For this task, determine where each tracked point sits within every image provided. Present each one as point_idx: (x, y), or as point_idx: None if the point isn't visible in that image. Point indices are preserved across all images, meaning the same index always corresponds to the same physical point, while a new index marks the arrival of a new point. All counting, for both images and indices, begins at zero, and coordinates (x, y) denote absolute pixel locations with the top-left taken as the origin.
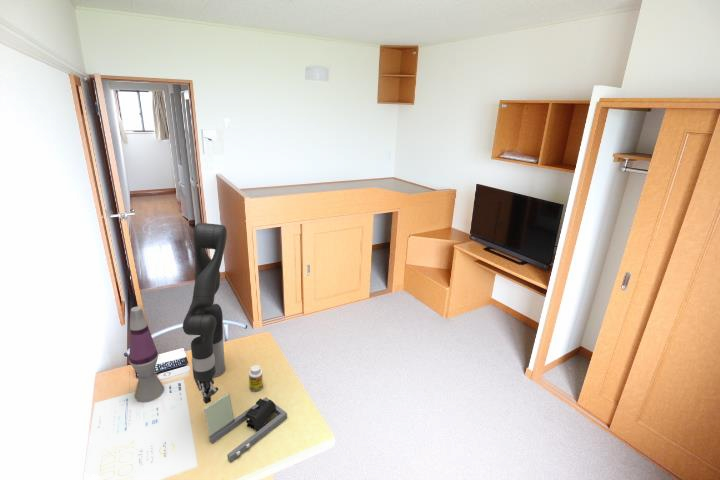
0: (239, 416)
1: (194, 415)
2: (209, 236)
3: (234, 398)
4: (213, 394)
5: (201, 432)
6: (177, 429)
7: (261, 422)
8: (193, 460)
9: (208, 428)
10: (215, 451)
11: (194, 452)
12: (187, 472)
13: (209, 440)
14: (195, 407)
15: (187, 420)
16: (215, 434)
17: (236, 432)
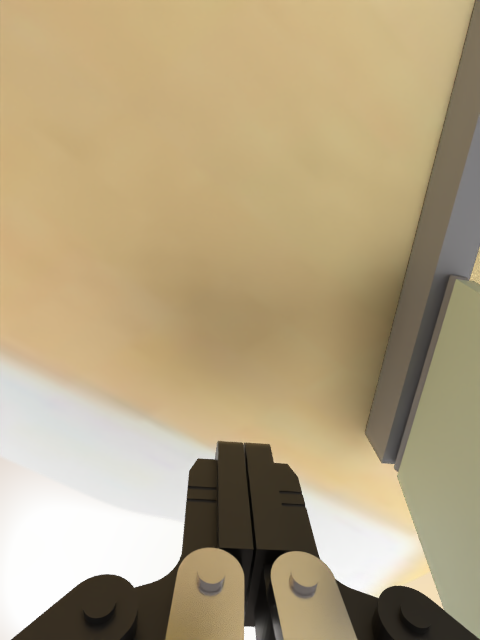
0: (462, 210)
1: (93, 367)
2: None
3: (192, 23)
4: (438, 623)
5: (264, 421)
6: (119, 487)
7: None
8: (379, 538)
9: (414, 519)
10: None
11: (345, 513)
12: (404, 580)
13: (368, 439)
14: (20, 317)
15: (98, 418)
16: None
17: None
